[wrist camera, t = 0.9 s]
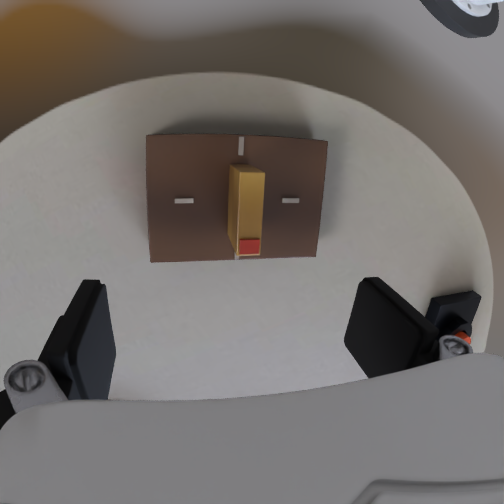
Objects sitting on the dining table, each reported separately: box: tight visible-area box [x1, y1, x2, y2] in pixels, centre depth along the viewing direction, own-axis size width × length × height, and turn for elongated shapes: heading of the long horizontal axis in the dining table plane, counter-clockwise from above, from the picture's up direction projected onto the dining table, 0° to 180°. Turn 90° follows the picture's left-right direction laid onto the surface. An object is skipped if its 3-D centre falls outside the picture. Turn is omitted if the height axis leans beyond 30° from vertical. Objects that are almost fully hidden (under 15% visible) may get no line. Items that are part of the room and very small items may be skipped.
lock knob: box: [228, 164, 265, 256], centre depth 22 cm, size 6×2×5 cm, turn 177°
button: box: [455, 331, 471, 345], centre depth 36 cm, size 4×4×2 cm
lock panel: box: [146, 134, 328, 263], centre depth 25 cm, size 10×14×3 cm
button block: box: [425, 290, 481, 342], centre depth 38 cm, size 12×10×4 cm
